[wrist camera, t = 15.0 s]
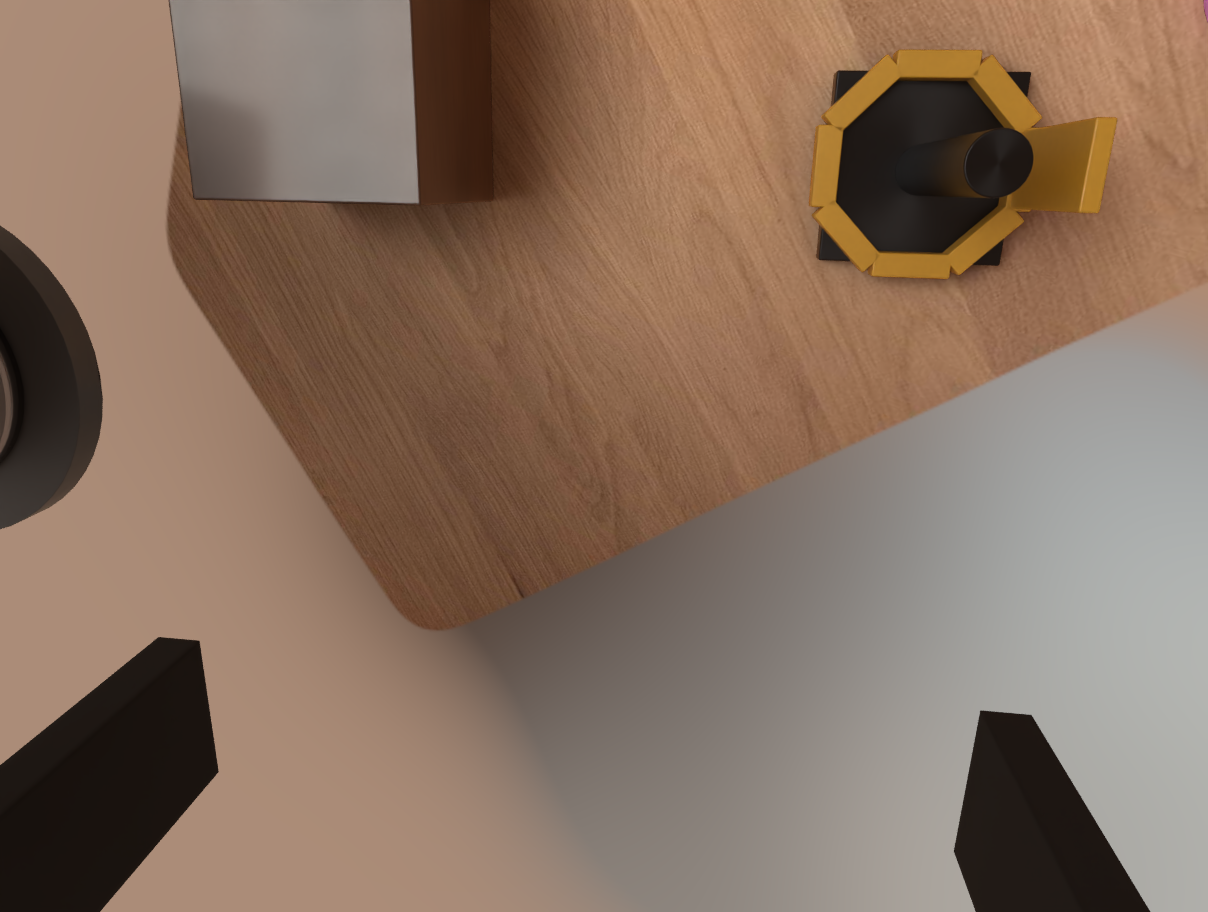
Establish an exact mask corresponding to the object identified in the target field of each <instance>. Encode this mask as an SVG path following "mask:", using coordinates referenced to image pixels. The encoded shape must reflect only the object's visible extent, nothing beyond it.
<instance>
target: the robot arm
mask: <svg viewBox="0 0 1208 912" xmlns="http://www.w3.org/2000/svg"><path fill="white" fill-rule="evenodd" d="M23 415H24V391H23V384H22V379H21V375H20V370H19V367H18V364H17V361H16V358H15V356H14V353H13V351H12V349H11V346H10V344H9V342H8V341H7V339H6V337H5V335H4V333H3V332H2V330H1V329H0V464H1V463H2V462H3V460H4V459H5V458H6V457H7V456H8V455H9V453H10V452H11V450H12V449H13V447H14V445H15V443H16V441H17V439H18V436H19V433H20V430H21V426H22V422H23ZM217 773H218V764H217V758H216V751H215V744H214V737H213V731H212V724H211V717H210V711H209V704H208V696H207V689H206V683H205V676H204V669H203V662H202V656H201V648H200V642H199V641H196V640H185V639H174V638H162V637H158V638H157V639H156V640H155V641H153V642H152V643H151V644H150V645H148V646H147V647H146V648H145V649H143V650H142V651H141V652H140V653H138V654H137V655H136V656H135V657H133V658H132V659H131V660H130V661H129V662H127V663H126V664H125V665H124V666H122V667H121V668H120V669H119V670H117V671H116V672H115V673H114V674H112V675H111V676H110V677H109V678H108V679H106V680H105V681H104V682H103V683H101V684H100V685H99V686H98V687H97V688H95V689H94V690H93V691H92V692H90V693H89V694H88V695H87V696H85V697H84V698H83V699H82V700H80V701H79V702H78V703H77V704H76V705H74V706H73V707H72V708H70V709H69V710H68V711H67V712H65V713H64V714H63V715H62V716H61V717H59V718H58V719H57V720H56V721H54V722H53V723H52V724H51V725H49V726H48V727H47V728H46V729H45V730H43V731H42V732H41V733H40V734H38V735H37V736H36V737H35V738H33V739H32V740H31V741H30V742H29V743H27V744H26V745H25V746H23V747H22V748H21V749H20V750H19V751H17V752H16V753H15V754H14V755H12V756H11V757H10V758H9V759H7V760H6V761H5V762H4V763H2V764H1V765H0V912H100V911H101V910H102V909H103V907H104V906H105V905H106V904H107V903H108V902H109V900H110V899H111V898H112V897H113V896H114V894H115V893H116V892H117V891H118V890H119V889H120V888H121V886H122V885H123V884H124V883H125V881H126V880H127V879H128V878H129V877H130V876H131V874H132V873H133V872H134V871H135V870H136V869H137V867H138V866H139V865H140V864H141V863H142V861H143V860H144V859H145V858H146V857H147V855H148V854H149V853H150V852H151V851H152V850H153V849H154V847H155V846H156V845H157V844H158V843H159V842H160V840H161V839H162V838H163V837H164V836H165V834H166V833H167V832H168V831H169V830H170V828H171V827H172V826H173V825H174V824H175V823H176V821H177V820H178V819H179V818H180V817H181V815H182V814H183V813H184V812H185V811H186V810H187V808H188V807H189V806H190V805H191V804H192V802H193V801H194V800H195V799H196V798H197V796H199V794H200V793H201V792H202V791H203V789H204V788H205V787H206V786H207V785H208V784H209V783H210V781H211V780H212V779H213V778H214V777H215V776H216V774H217ZM954 853H955V856H956V858H957V861H958V864H959V867H960V869H961V872H962V875H963V878H964V880H965V883H966V886H967V889H968V891H969V894H970V897H971V900H972V902H973V905H974V908H975V911H976V912H1150V911H1149V909H1148V907H1147V906H1146V904H1145V902H1144V901H1143V899H1142V897H1141V896H1140V894H1139V892H1138V891H1137V889H1136V888H1135V886H1134V884H1133V882H1132V881H1131V879H1130V877H1129V876H1128V874H1127V873H1126V871H1125V869H1124V868H1123V866H1122V864H1121V863H1120V861H1119V860H1118V858H1117V856H1116V855H1115V853H1114V851H1113V849H1112V848H1111V846H1110V844H1109V843H1108V841H1107V839H1106V838H1105V836H1104V835H1103V833H1102V831H1101V830H1100V828H1099V826H1098V825H1097V823H1096V821H1095V820H1094V818H1093V816H1092V815H1091V813H1090V811H1089V810H1088V808H1087V806H1086V805H1085V803H1084V801H1083V800H1082V798H1081V796H1080V795H1079V793H1078V791H1077V790H1076V788H1075V786H1074V785H1073V783H1072V781H1071V780H1070V778H1069V777H1068V775H1067V773H1066V772H1065V770H1064V768H1063V767H1062V765H1061V763H1060V762H1059V760H1058V758H1057V757H1056V755H1055V753H1054V752H1053V750H1052V748H1051V747H1050V745H1049V743H1048V742H1047V740H1046V738H1045V737H1044V735H1043V733H1042V732H1041V730H1040V729H1039V727H1038V725H1037V724H1036V722H1035V720H1034V719H1033V717H1032V715H1025V714H1014V713H1003V712H991V711H980V716H979V722H978V726H977V731H976V737H975V742H974V747H973V753H972V758H971V764H970V768H969V774H968V780H967V784H966V790H965V795H964V800H963V806H962V811H961V816H960V822H959V827H958V832H957V838H956V843H955V848H954Z"/></svg>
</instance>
